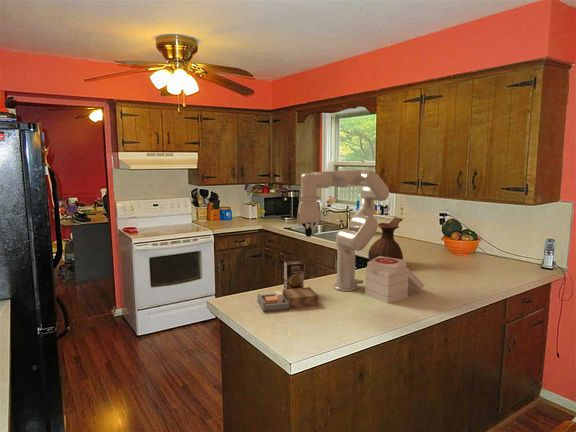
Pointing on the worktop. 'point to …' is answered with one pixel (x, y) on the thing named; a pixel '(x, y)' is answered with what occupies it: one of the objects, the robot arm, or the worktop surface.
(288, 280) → the coffee box
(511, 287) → the worktop surface
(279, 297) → the tile
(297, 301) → the wooden square board
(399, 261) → the pizza boxes
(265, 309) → the box
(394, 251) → the jug
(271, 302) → the tile
